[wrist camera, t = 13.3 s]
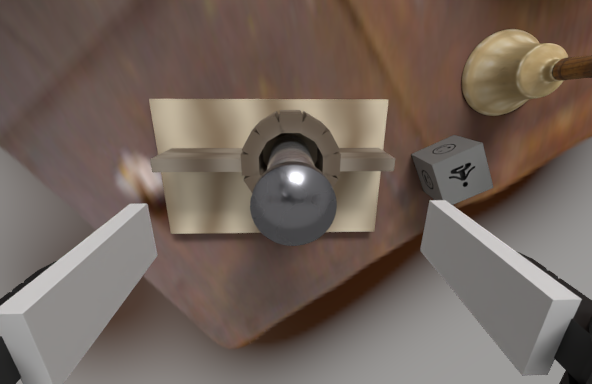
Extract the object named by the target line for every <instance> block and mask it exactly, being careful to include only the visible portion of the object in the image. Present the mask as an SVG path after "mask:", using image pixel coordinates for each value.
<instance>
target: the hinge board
mask: <svg viewBox="0 0 592 384" xmlns="http://www.w3.org/2000/svg"><path fill="white" fill-rule="evenodd" d="M149 102H150V108H151V114H152V120H153V126H154V132H155V138H156V145H157V151H158V155H157V156H156V157H154V158H152V159H150V161H151V167H152V172H161V175H162V181H163V187H164V193H165V199H166V206H167V212H168V218H169V224H170V230H171V234H192V233H261V232H260V231H259V230H258V228H257V227H256V225H255V224H254V222H253V219H252V216H251V211H250V201H251V196H252V193H253V190H254V187H255V184H256V182H257V181H258V179H259V178H260V177H261V175H262V174H263V173H264V172H265V171H267V166H268V162H269V158H270V154H271V150H272V146H273V144H274V143H275V141H276V140H277V139H279V138H280V137H282V136H285V135H295V136H298V137H300V138H301V139H302V140H303V141H304V142H305V143H306V145H307V147H308V150H309V152H310V155H311V158H312V160H313V163H314V165H315V167H316V168H317V169H319V170H320V171H321V172H322V173H323V174H324V175H325V176H326V177H327V179H328V180H329V182H330V184H331V186H332V188H333V190H334V192H335V196H336V201H337V209H336V215H335V218H334V220H333V223H332V224H331V226H330V227H329V229H328V230H327V231H326V232H369V231H374V228H375V219H376V209H377V200H378V191H379V182H380V173H381V171H394V165H395V158H394V157H392V156H391V155H389V154H388V153H386V152H385V151H383V145H384V136H385V127H386V118H387V109H388V100H385V99H149Z"/></svg>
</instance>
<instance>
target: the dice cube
mask: <svg viewBox="0 0 592 384" xmlns="http://www.w3.org/2000/svg"><path fill="white" fill-rule="evenodd" d="M411 155H412V158H413V161H414V164H415V167H416V170H417V173H418V176H419V179H420V182H421V185H422V188H423V191H424V192H425V193H426V194H428V195H429V196H430V197H432V198H433V199H434V200H446V201H447V202H449V203H450V204H451V205H453V204H455V203H458V202H460V201H463V200H465V199H467V198H470V197H472V196H474V195H477V194H479V193H482V192H484V191H486V190H489V189H491V188H493V184H492V180H491V176H490V172H489V167H488V163H487V159H486V155H485V151H484V147H483V143H481V142H478V141H474V140H470V139H467V138H463V137H460V136H456V135H453V136H451V137H448V138H446V139H444V140H442V141H440V142H437V143H435V144H433V145H431V146H428V147H426V148H424V149H422V150H420V151H417V152H415V153H413V154H411Z"/></svg>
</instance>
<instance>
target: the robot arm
mask: <svg viewBox="0 0 592 384" xmlns="http://www.w3.org/2000/svg"><path fill="white" fill-rule="evenodd" d="M420 250H421V252H422V253H423V254H424V256H425V257H426V258H427V259H428V261H429V262H430V263H431V264H432V265H433V267H434V268H435V269H436V270H437V272H438V273H439V274H440V275H441V277H442V278H443V279H444V280H445V281H446V283H447V284H448V285H449V286H450V288H451V289H452V290H453V291H454V292H455V294H456V295H457V296H458V297H459V299H460V300H461V301H462V302H463V303H464V305H465V306H466V307H467V308H468V310H469V311H470V312H471V313H472V315H473V316H474V317H475V318H476V319H477V321H478V322H479V323H480V324H481V326H482V327H483V328H484V329H485V330H486V332H487V333H488V334H489V335H490V337H491V338H492V339H493V340H494V341H495V343H496V344H497V345H498V346H499V348H500V349H501V350H502V351H503V353H504V354H505V355H506V356H507V358H508V359H509V360H510V361H511V362H512V364H513V365H514V366H515V367H516V369H517V370H518V371H519V372H520V373H521V375H522V376H524V375H548V373H549V371H550V368H551V366H552V364H553V361H554V360H555V359H556V360H557V361H558V362H559V363H560V364H561V366H562V367H563V368H564V369H565V370H566V371H565V373H564V375H563V377H562V379H561V381H560V383H559V384H592V300H590V299H589V298H587V297H586V296H585V295H583V294H582V293H580V292H579V291H578V290H576V289H575V288H573V287H572V286H570V285H569V284H568V283H566V282H565V281H563V280H562V279H558V277H557V276H556V275H555V274H553V273H552V272H550V271H547V269H546V268H545V267H544V266H542V265H541V264H539V263H538V262H536V261H535V260H533V259H532V258H529V257H527V256H525V255H523V254H521V253H519V252H516V251H515V250H513V249H512V248H511V247H509V246H508V245H506V244H505V243H504V242H502V241H501V240H500V239H498V238H497V237H495V236H494V235H493V234H491V233H490V232H489V231H487V230H486V229H484V228H483V227H482V226H480V225H479V224H477V223H476V222H475V221H473V220H472V219H470V218H469V217H468V216H466V215H465V214H464V213H462V212H461V211H460V210H458V209H457V208H455V207H454V206H453V205H451V204H450V203H449V202H447V201H446V200H430V201H429V206H428V212H427V217H426V222H425V228H424V233H423V238H422V244H421V249H420ZM156 257H157V250H156V245H155V240H154V235H153V230H152V225H151V220H150V215H149V210H148V205H147V204H129V205H128V206H127V207H125V208H124V209H123V210H122V211H120V212H119V213H118V214H117V215H115V216H114V217H113V218H111V219H110V220H109V221H108V222H106V223H105V224H104V225H103V226H101V227H100V228H99V229H98V230H96V231H95V232H94V233H92V234H91V235H90V236H89V237H87V238H86V239H85V240H84V241H82V242H81V243H80V244H79V245H77V246H76V247H75V248H73V249H72V250H71V251H70V252H68V253H67V254H66V255H64V256H63V257H62V258H61V259H59V260H58V261H55V262H53V263H52V264H50V265H48V266H46V267H44V268H42V269H40V270H38V271H37V272H35V273H34V274H33V275H31V276H30V277H29V278H27V279H26V280H25V281H24V283H21V284H19V285H18V286H17V287H16V288H14V289H13V290H12V292H9V293H8V294H6V295H5V296H4V297H3V298H1V299H0V384H16V383H17V381H18V380H19V379H21V381H22V382H23V384H64V382H65V381H66V379H67V378H68V377H69V375H70V374H71V372H72V371H73V370H74V368H75V367H76V366H77V365H78V363H79V362H80V360H81V359H82V358H83V356H84V355H85V354H86V352H87V351H88V349H89V348H90V347H91V345H92V344H93V343H94V341H95V340H96V339H97V337H98V336H99V334H100V333H101V332H102V330H103V329H104V328H105V326H106V325H107V324H108V322H109V321H110V319H111V318H112V317H113V315H114V314H115V313H116V311H117V310H118V308H119V307H120V306H121V304H122V303H123V302H124V300H125V299H126V298H127V296H128V295H129V294H130V292H131V291H132V289H133V288H134V287H135V285H136V284H137V283H138V281H139V280H140V279H141V277H142V276H143V274H144V273H145V272H146V270H147V269H148V268H149V266H150V265H151V264H152V262H153V261H154V259H155V258H156Z"/></svg>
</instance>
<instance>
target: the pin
mask: <svg viewBox="0 0 592 384" xmlns="http://www.w3.org/2000/svg"><path fill="white" fill-rule="evenodd" d="M336 209H337V201H336V196H335V192H334V190H333V188H332V186H331V184H330V182H329V180H328V179H327V177H326V176H325V175H324V174H323V173H322V172H321V171H320V170H319V169H317V168H316V167H315V165H314V163H313V160H312V158H311V155H310V152H309V150H308V147H307V145H306V143H305V142H304V141H303V140H302V139H301V138H300V137H298V136H295V135H285V136H282V137H280V138H279V139H277V140H276V141H275V143H274V144H273V146H272V150H271V154H270V158H269V162H268V166H267V171H265V172H264V173H263V174H262V175H261V177H260V178H259V179H258V181H257V182H256V184H255V187H254V190H253V193H252V196H251V201H250V211H251V216H252V219H253V222H254V224H255V225H256V227H257V228H258V230H259V231H260V232H261V233H262V234H263V235H264V236H266V237H267V238H268V239H270V240H272V241H274V242H276V243H279V244H282V245H288V246H297V245H303V244H307V243H310V242H312V241H314V240H316V239H318V238H319V237H321V236H322V235H323V234H324V233H325V232H326V231H327V230H328V229H329V227H330V226H331V224H332V223H333V220H334V218H335V215H336Z"/></svg>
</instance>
